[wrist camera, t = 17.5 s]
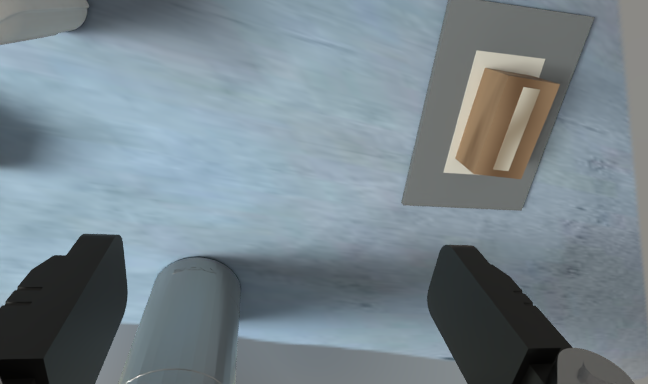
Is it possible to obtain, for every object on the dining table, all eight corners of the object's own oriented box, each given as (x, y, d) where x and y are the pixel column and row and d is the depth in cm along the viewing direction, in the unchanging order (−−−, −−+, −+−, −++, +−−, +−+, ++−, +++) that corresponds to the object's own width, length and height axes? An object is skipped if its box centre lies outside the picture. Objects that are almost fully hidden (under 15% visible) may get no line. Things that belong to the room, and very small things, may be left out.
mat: (518, 207, 46) (521, 210, 45) (401, 202, 43) (403, 205, 42) (589, 17, 37) (595, 17, 36) (449, -5, 35) (452, -4, 34)
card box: (532, 75, 38) (560, 84, 34) (498, 163, 42) (521, 179, 38) (484, 67, 37) (509, 75, 33) (455, 158, 41) (474, 174, 37)
